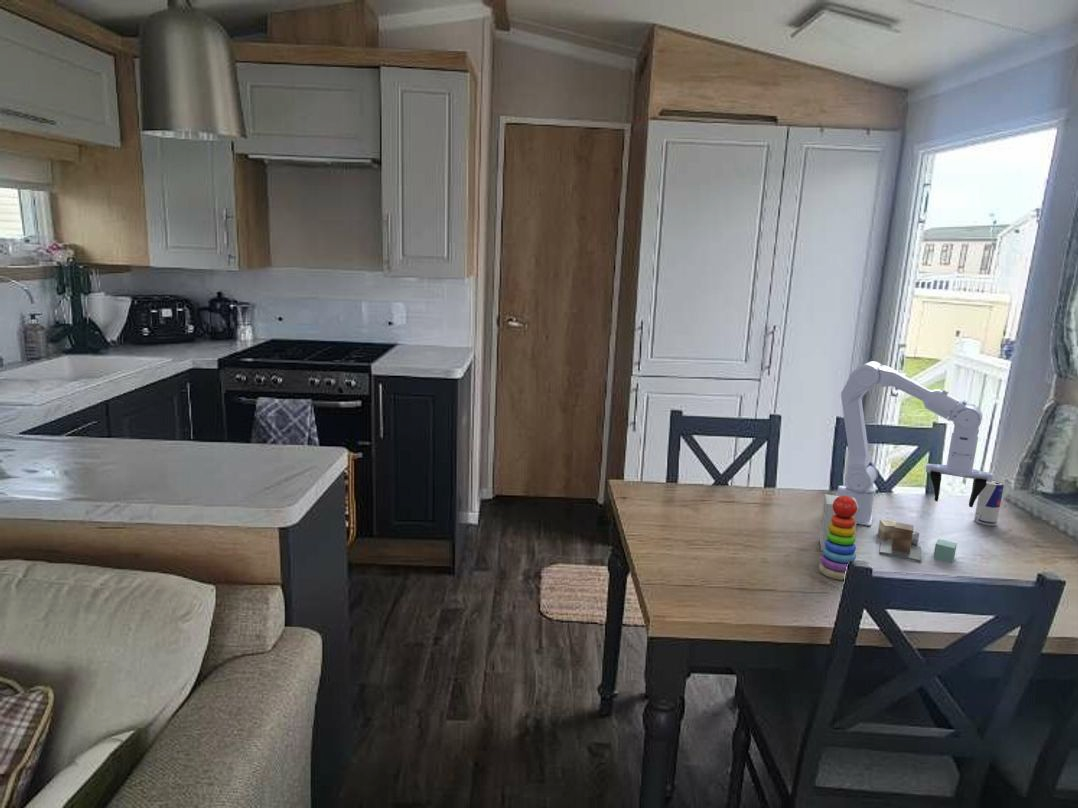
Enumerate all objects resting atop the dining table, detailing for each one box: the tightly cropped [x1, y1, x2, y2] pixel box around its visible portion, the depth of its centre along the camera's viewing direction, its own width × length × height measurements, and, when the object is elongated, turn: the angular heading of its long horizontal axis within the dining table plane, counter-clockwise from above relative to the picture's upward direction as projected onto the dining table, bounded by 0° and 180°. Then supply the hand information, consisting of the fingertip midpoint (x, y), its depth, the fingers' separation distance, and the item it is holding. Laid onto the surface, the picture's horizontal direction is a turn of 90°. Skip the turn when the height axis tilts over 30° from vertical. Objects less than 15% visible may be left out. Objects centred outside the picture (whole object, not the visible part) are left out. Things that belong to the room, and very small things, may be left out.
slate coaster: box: [879, 538, 922, 563], centre depth 171 cm, size 9×9×1 cm
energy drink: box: [974, 479, 1005, 527], centre depth 191 cm, size 5×5×12 cm
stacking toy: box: [818, 496, 857, 581], centre depth 156 cm, size 8×8×19 cm
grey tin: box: [911, 530, 920, 546], centre depth 176 cm, size 4×4×3 cm
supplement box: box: [819, 493, 859, 552], centre depth 171 cm, size 7×7×13 cm
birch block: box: [877, 519, 897, 541], centre depth 179 cm, size 4×4×4 cm
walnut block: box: [892, 521, 914, 553], centre depth 170 cm, size 4×4×6 cm
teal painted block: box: [932, 538, 958, 564], centre depth 167 cm, size 4×4×4 cm
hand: (953, 503), depth 176 cm, fingers open, 7 cm apart
